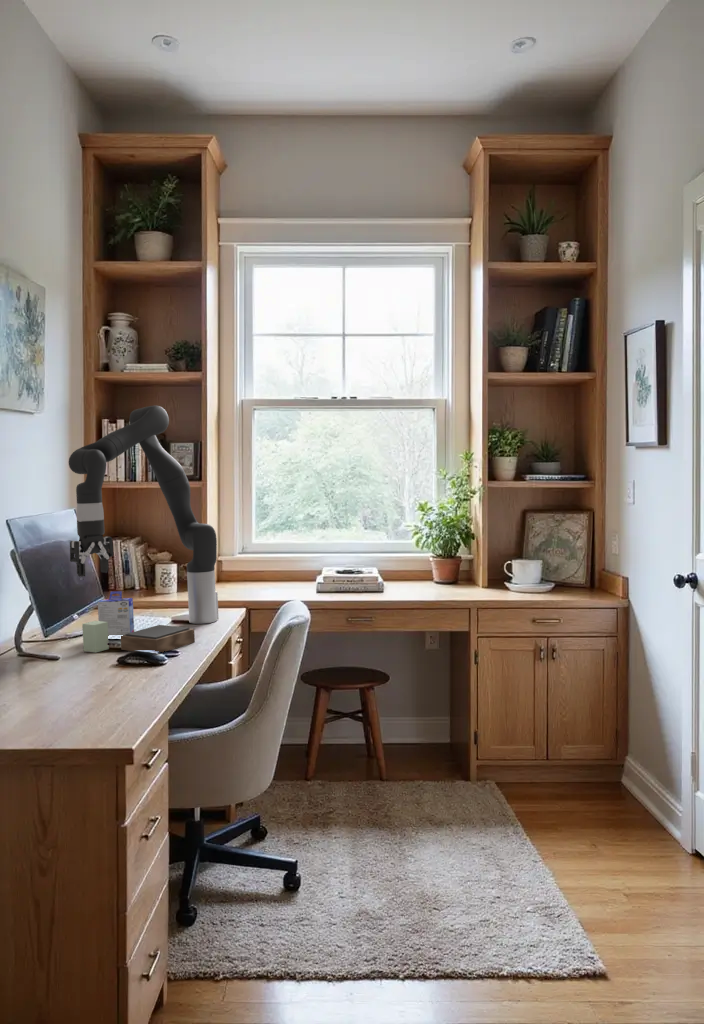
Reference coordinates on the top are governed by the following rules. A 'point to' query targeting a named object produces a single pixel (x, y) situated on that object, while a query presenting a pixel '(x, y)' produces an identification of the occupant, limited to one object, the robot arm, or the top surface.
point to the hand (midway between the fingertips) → (93, 574)
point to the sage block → (95, 636)
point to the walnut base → (158, 638)
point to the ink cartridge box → (117, 614)
